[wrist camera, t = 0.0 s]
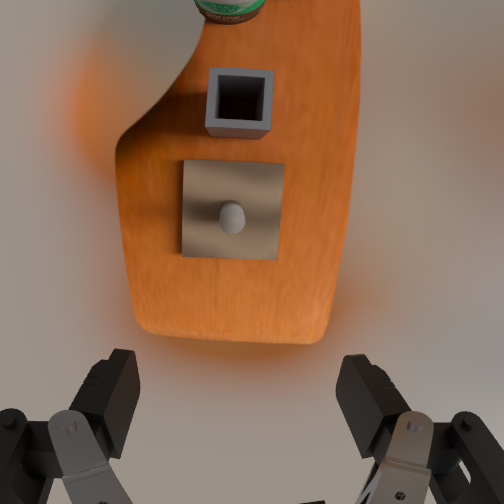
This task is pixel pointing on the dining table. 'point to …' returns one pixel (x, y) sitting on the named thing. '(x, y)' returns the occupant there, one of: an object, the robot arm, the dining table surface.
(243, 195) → the post stand
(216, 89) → the sleeve
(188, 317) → the dining table surface
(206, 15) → the food container
